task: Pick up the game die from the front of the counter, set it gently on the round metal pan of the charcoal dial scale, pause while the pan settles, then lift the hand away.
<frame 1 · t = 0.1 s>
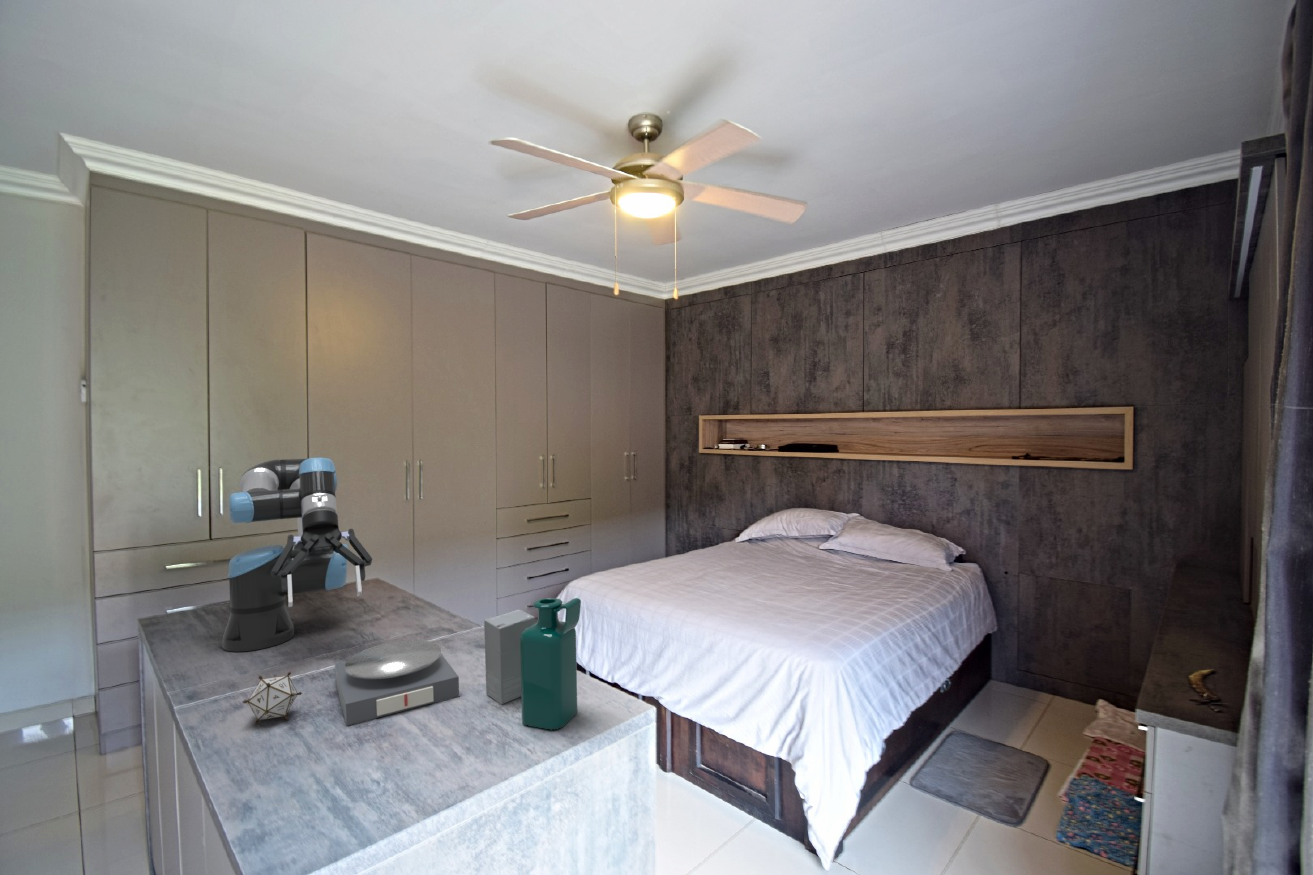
hand: (326, 599, 133), 15 cm above the counter, tool tilted 35°, fingers open, 13 cm apart
scale: (395, 688, 121), on the counter
skincare box: (511, 694, 118), on the counter
pitcher: (553, 719, 108), on the counter
game die: (274, 719, 110), on the counter
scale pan: (394, 660, 121), point 6 cm above the counter, slide at 0.5 cm
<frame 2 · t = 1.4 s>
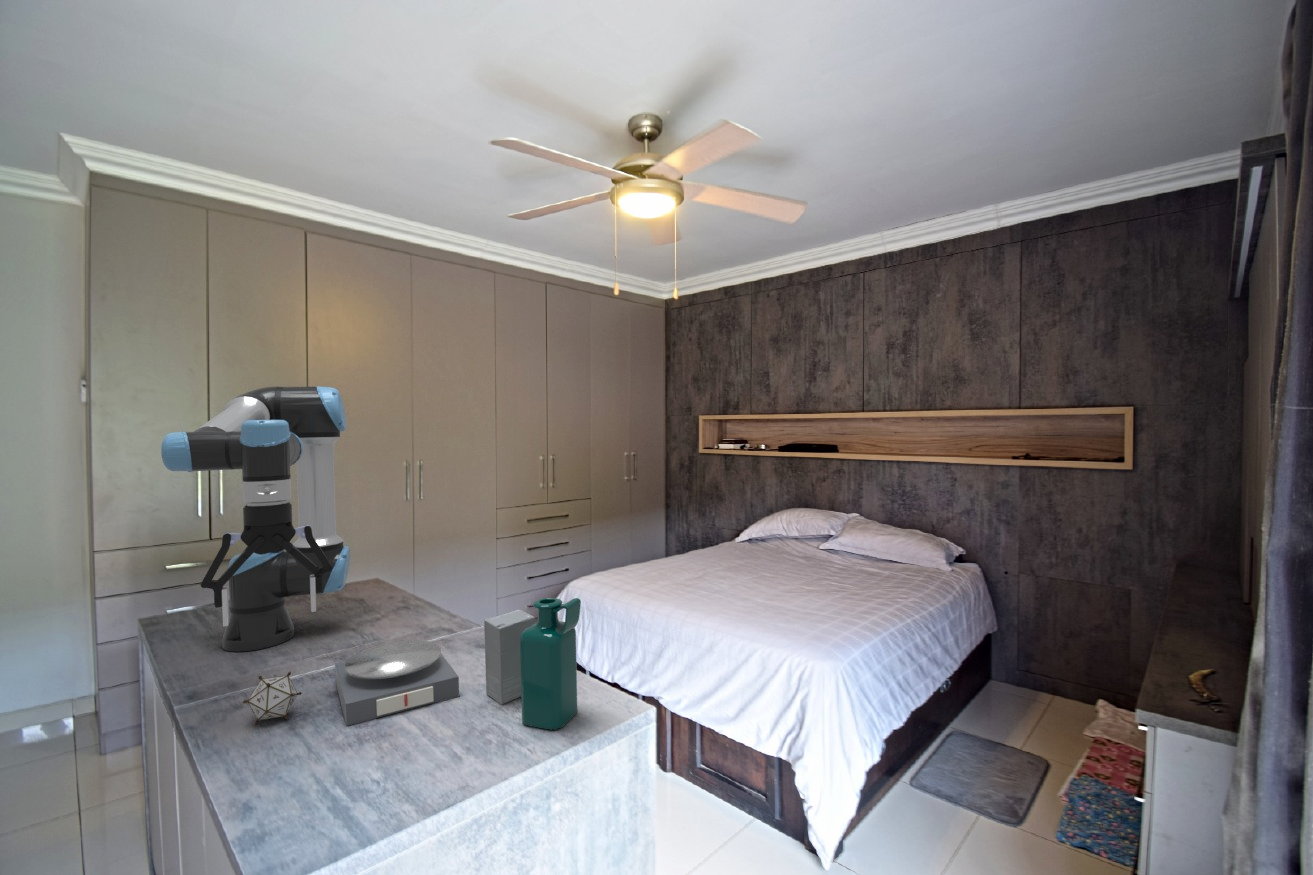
hand: (271, 617, 109), 19 cm above the counter, tool pointing down, fingers open, 13 cm apart
nothing on the counter moved.
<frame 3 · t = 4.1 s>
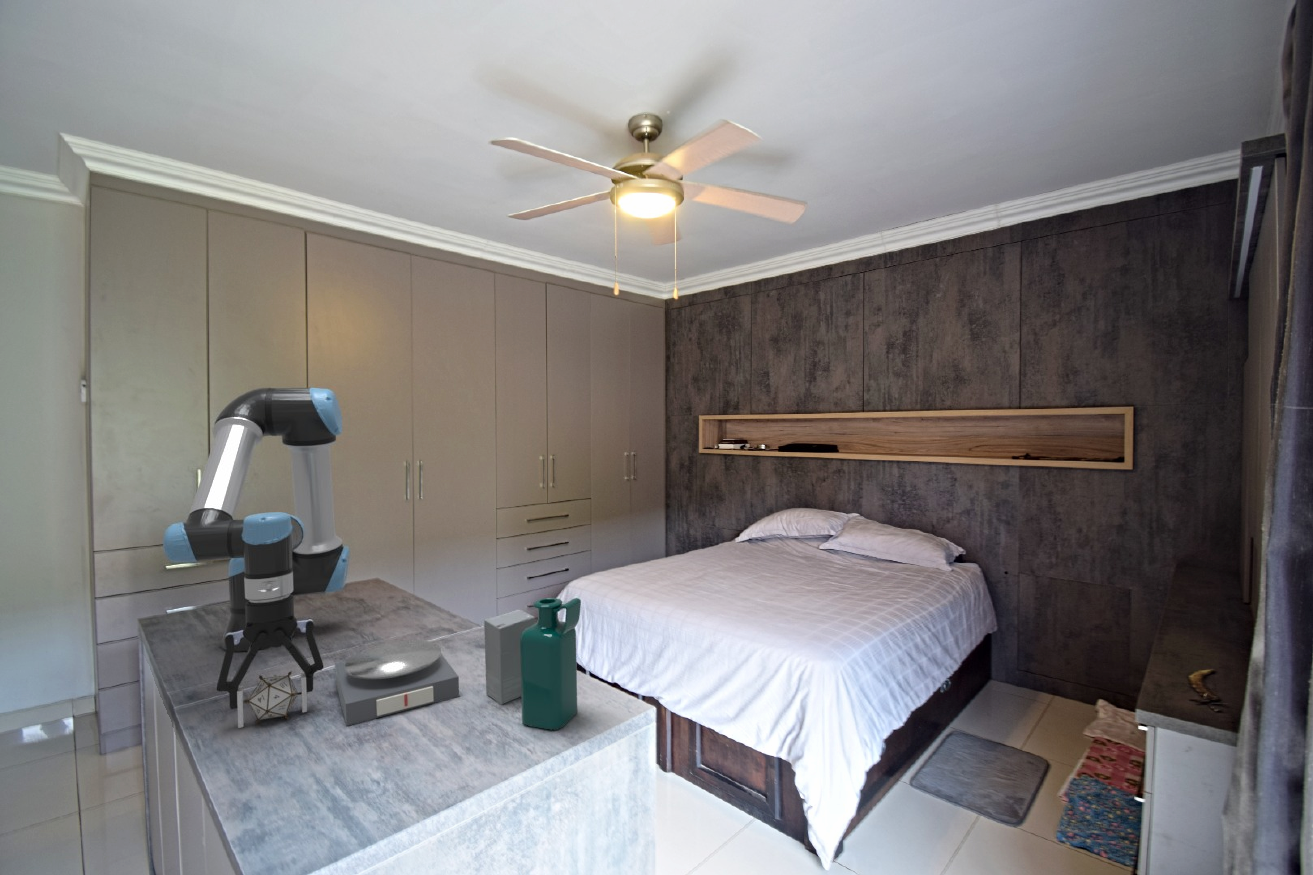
hand: (273, 716, 110), 0 cm above the counter, tool pointing down, fingers closed on game die, 9 cm apart
game die: (274, 719, 110), on the counter, touching gripper
everything else where it was.
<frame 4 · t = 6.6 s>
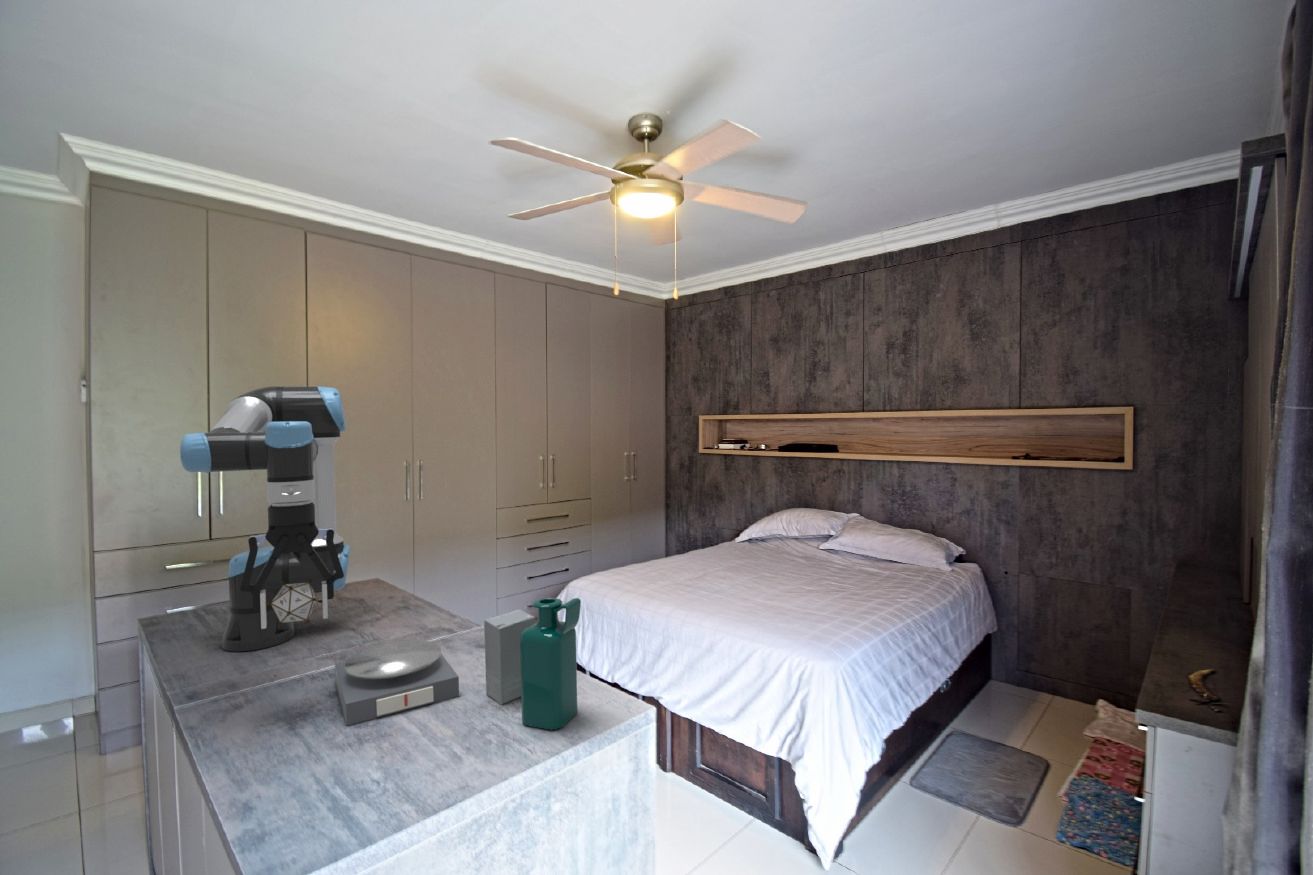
hand: (295, 621, 111), 18 cm above the counter, tool pointing down, fingers closed on game die, 9 cm apart
game die: (296, 624, 112), point 17 cm above the counter, touching gripper
everything else where it was.
when the fingers open (10 cm above the counter, at t = 9.6 s): game die drops 3 cm, resting on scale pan.
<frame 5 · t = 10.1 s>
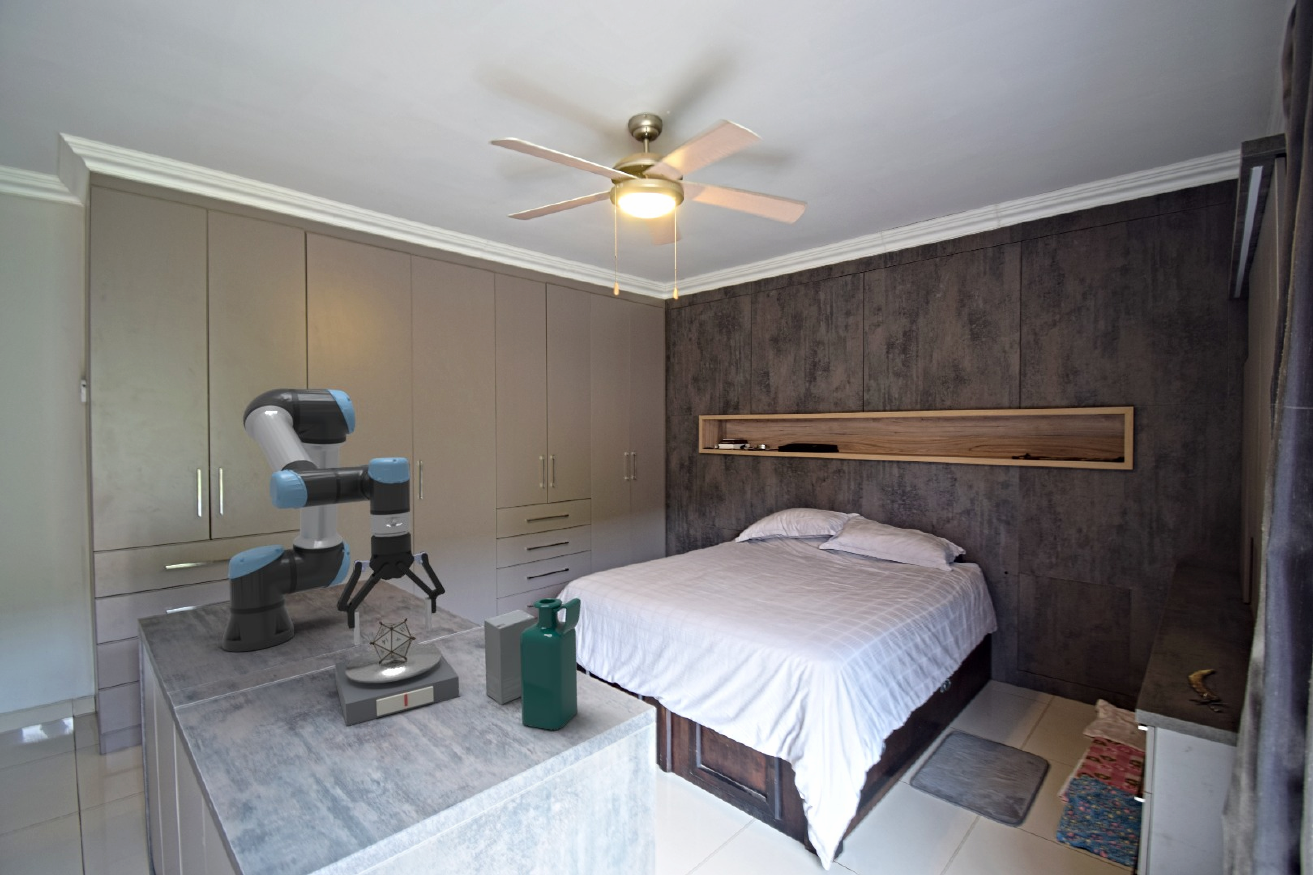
hand: (393, 636, 121), 11 cm above the counter, tool pointing down, fingers open, 13 cm apart
game die: (393, 660, 121), point 6 cm above the counter, touching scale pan
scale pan: (394, 664, 121), point 5 cm above the counter, slide at 1.2 cm, touching game die
everything else where it was.
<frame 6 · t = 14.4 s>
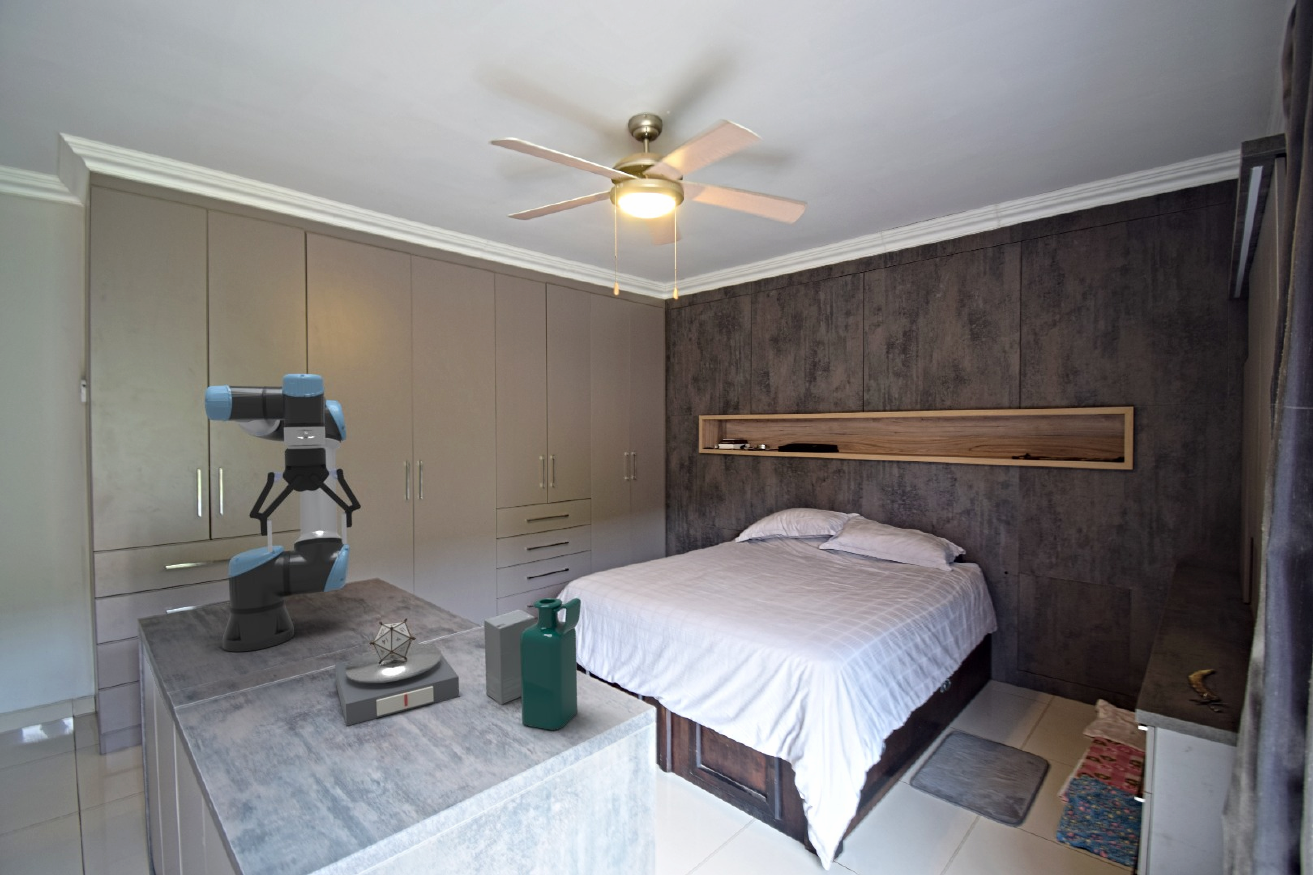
hand: (308, 546, 125), 29 cm above the counter, tool pointing down, fingers open, 13 cm apart
nothing on the counter moved.
at the end: game die inside the target area on the scale (0.2 cm from its centre), point 5.9 cm above the scale's base; game die touching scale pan; the gripper is holding nothing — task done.
